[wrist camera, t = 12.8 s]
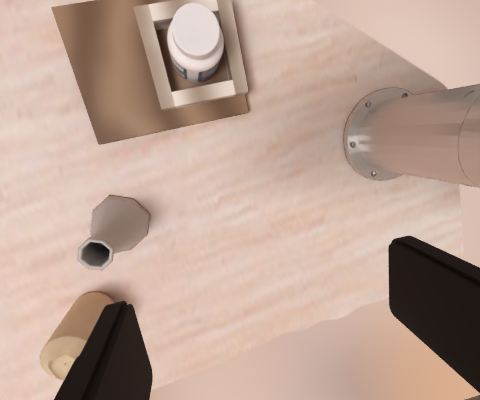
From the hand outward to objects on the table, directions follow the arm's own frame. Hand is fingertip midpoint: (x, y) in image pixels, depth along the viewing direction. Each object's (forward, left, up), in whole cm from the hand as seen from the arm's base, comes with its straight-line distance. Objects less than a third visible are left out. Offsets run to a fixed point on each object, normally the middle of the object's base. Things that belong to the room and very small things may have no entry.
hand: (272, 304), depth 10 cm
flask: (+13, +3, -28) cm, 31 cm away
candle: (+20, +14, -28) cm, 37 cm away
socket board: (+3, -14, -28) cm, 31 cm away
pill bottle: (-1, -14, -26) cm, 30 cm away
